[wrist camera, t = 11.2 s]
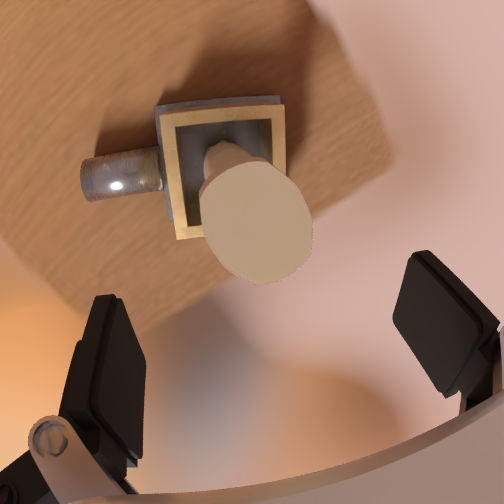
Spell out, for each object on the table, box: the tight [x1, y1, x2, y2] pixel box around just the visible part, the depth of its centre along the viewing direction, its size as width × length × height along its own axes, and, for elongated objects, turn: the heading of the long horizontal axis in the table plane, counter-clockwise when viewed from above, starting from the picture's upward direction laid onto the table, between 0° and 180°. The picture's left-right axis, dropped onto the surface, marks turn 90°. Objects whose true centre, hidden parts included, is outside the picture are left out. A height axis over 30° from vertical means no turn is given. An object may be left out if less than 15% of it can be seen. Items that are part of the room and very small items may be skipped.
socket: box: [80, 95, 286, 240], centre depth 25 cm, size 11×18×6 cm, turn 92°
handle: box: [199, 140, 313, 285], centre depth 21 cm, size 5×6×15 cm
